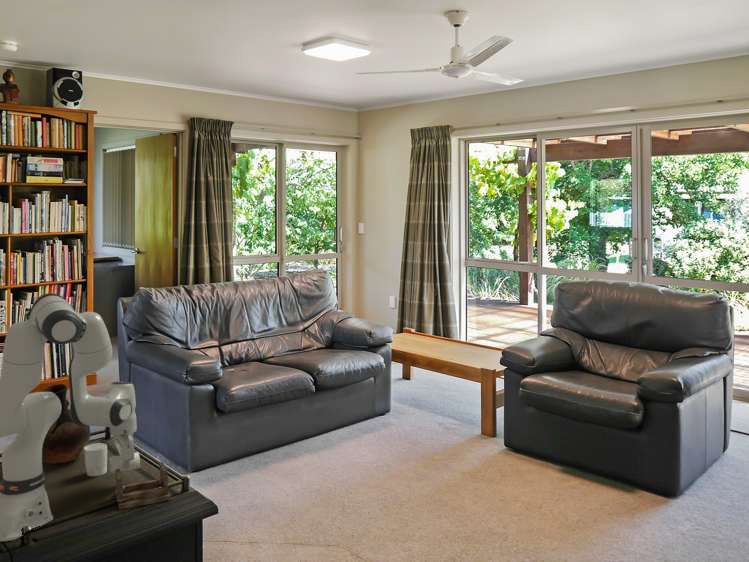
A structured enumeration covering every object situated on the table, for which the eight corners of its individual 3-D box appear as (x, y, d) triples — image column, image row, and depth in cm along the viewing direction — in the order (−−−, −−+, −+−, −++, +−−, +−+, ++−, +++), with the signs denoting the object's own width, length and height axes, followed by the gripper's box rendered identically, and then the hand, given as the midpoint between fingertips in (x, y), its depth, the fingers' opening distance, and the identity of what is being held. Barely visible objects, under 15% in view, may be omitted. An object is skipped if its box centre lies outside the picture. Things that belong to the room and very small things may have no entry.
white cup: (112, 469, 255) (110, 443, 254) (101, 477, 248) (100, 450, 247) (92, 468, 256) (90, 442, 255) (81, 477, 248) (79, 450, 247)
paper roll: (111, 475, 237) (110, 460, 236) (108, 469, 241) (108, 454, 241) (140, 470, 241) (140, 455, 241) (137, 464, 246) (137, 449, 245)
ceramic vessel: (84, 448, 277) (80, 376, 274) (98, 461, 264) (94, 384, 261) (27, 461, 264) (22, 385, 261) (39, 475, 251) (34, 395, 247)
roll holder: (119, 509, 221) (117, 481, 220) (115, 494, 233) (114, 467, 232) (170, 500, 228) (169, 472, 227) (164, 485, 240) (163, 459, 239)
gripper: (138, 434, 232) (139, 473, 234) (127, 417, 250) (129, 453, 251) (118, 437, 229) (120, 476, 231) (109, 419, 247) (110, 456, 248)
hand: (124, 464), depth 241 cm, fingers closed on paper roll, 5 cm apart
